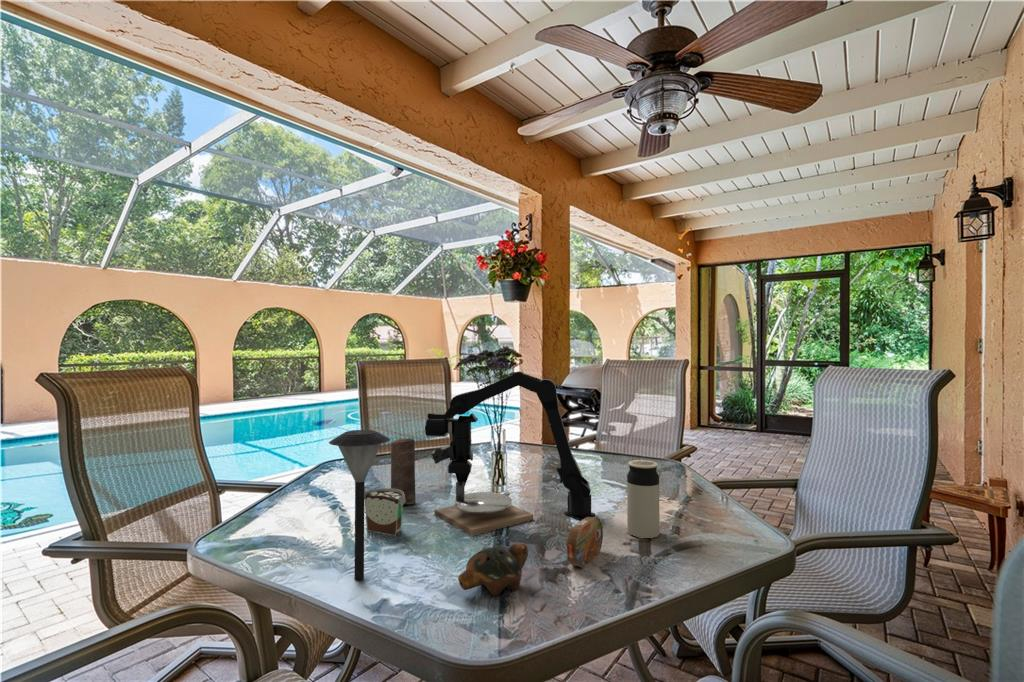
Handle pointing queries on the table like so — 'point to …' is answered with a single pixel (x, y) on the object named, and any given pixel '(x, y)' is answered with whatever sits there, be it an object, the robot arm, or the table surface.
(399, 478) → the candle
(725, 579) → the table surface
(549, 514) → the table surface
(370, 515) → the food container
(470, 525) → the base plate
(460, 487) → the handwheel
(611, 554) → the table surface
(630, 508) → the travel mug
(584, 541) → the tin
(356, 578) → the solar garden light
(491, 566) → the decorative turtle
